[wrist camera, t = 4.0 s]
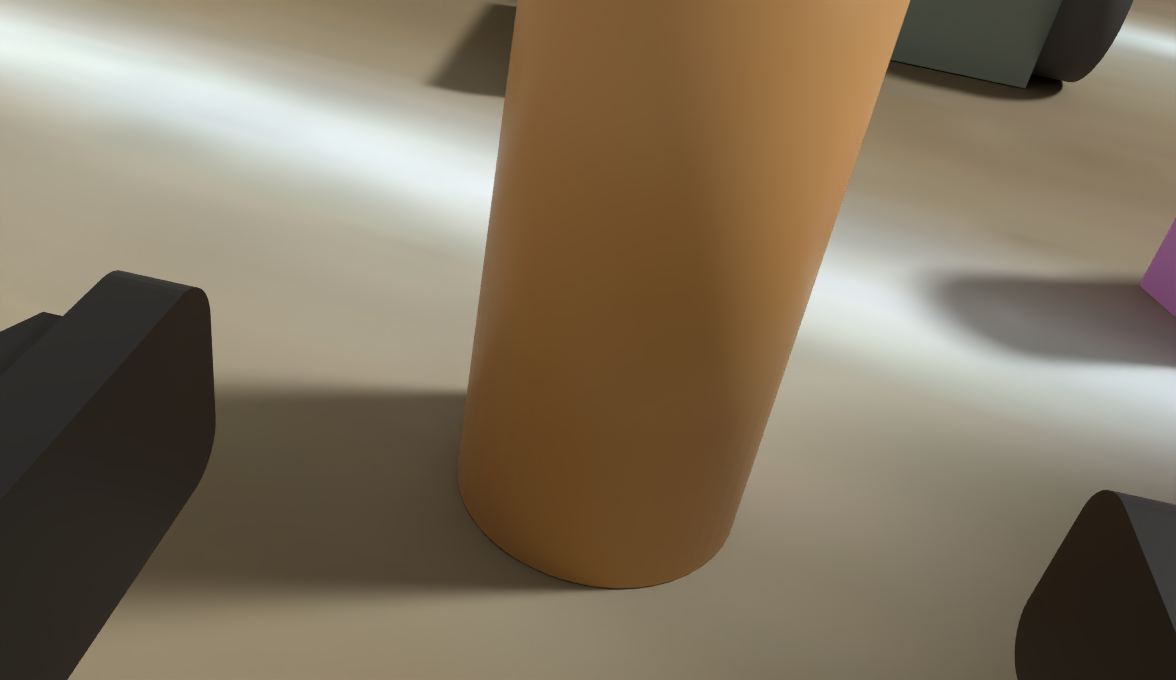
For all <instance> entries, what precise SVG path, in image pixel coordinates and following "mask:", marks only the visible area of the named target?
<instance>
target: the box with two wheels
mask: <svg viewBox="0 0 1176 680" xmlns="http://www.w3.org/2000/svg"><path fill="white" fill-rule="evenodd" d="M1132 2H1133V0H910V3H909V6H908V9H907V12H906V15H905V17H904V20H903V23H902V26H901V29H900V32H899V35H898V38H897V41H896V44H895V47H894V50H893V53H892V56H891V59H890V60H894V61H899V62H903V63H908V64H913V65H917V66H922V67H927V68H932V69H936V70H941V71H946V72H950V73H955V74H960V75H965V76H969V77H974V78H979V79H983V80H988V81H993V82H998V83H1002V84H1007V85H1012V86H1016V87H1021V88H1026V85H1027V83H1028V81H1029V78H1030V76H1031V74H1033V75H1038V76H1043V77H1048V78H1052V79H1057V80H1062V81H1066V82H1075V81H1078V80H1080V79H1082V78H1084V77H1085V76H1086V75H1087V74H1089V73H1090V72H1091V71H1092V70H1093V69H1094V68H1095V66H1096V65H1097V64H1098V63H1099V62H1100V60H1101V59H1102V58H1103V56H1104V55H1105V54H1106V52H1107V51H1108V49H1109V47H1110V46H1111V44H1112V43H1113V41H1114V39H1115V38H1116V36H1117V34H1118V32H1119V30H1120V28H1121V26H1122V24H1123V22H1124V20H1125V18H1126V16H1127V14H1128V11H1129V9H1130V7H1131V4H1132Z"/></svg>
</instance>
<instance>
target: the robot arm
mask: <svg viewBox="0 0 1176 680" xmlns="http://www.w3.org/2000/svg"><path fill="white" fill-rule="evenodd" d="M214 435H215V397H214V377H213V357H212V336H211V316H210V306H209V301H208V298H207V296H206V294H205V292H204V291H203V290H202V289H200V288H197V287H193V286H188V285H183V284H179V283H174V282H170V281H165V280H161V279H156V278H152V277H147V276H142V275H138V274H133V273H129V272H124V271H119V270H117V271H113V272H111V273H109V274H107V275H106V276H104V277H103V278H102V279H101V280H100V281H99V282H98V283H97V284H96V285H95V286H94V287H93V288H92V289H91V290H90V291H89V292H88V293H86V294H85V295H84V296H83V297H82V298H81V299H80V300H79V301H78V302H77V303H76V304H75V305H74V306H73V307H72V308H71V309H70V310H69V311H68V312H67V313H66V314H65V315H64V316H60V315H55V314H50V313H46V312H42V313H40V314H37V315H35V316H33V317H31V318H29V319H27V320H25V321H22V322H20V323H18V324H16V325H14V326H12V327H10V328H7V329H5V330H3V331H1V332H0V680H67V679H68V678H69V676H70V675H71V673H72V672H73V670H74V669H75V667H76V666H77V664H78V663H79V661H80V660H81V658H82V657H83V656H84V654H85V653H86V651H87V650H88V648H89V647H90V645H91V644H92V642H93V641H94V639H95V638H96V636H97V635H98V633H99V632H100V630H101V629H102V627H103V626H104V624H105V623H106V621H107V620H108V618H109V617H110V615H111V614H112V612H113V611H114V609H115V608H116V606H117V605H118V603H119V602H120V600H121V599H122V597H123V596H124V594H125V593H126V591H127V590H128V588H129V587H130V586H131V584H132V583H133V581H134V580H135V578H136V577H137V575H138V574H139V572H140V571H141V569H142V568H143V566H144V565H145V563H146V562H147V560H148V559H149V557H150V556H151V554H152V553H153V551H154V550H155V548H156V547H157V545H158V544H159V542H160V541H161V539H162V538H163V536H164V535H165V533H166V532H167V530H168V529H169V527H170V526H171V524H172V523H173V521H174V520H175V518H176V517H177V515H178V514H179V513H180V511H181V510H182V508H183V507H184V505H185V504H186V502H187V501H188V499H189V498H190V496H191V495H192V493H193V492H194V490H195V489H196V487H197V485H198V484H199V482H200V480H201V478H202V476H203V473H204V471H205V469H206V466H207V463H208V460H209V457H210V454H211V450H212V446H213V441H214ZM1015 668H1016V674H1017V679H1018V680H1176V505H1174V504H1169V503H1165V502H1160V501H1156V500H1151V499H1146V498H1142V497H1137V496H1133V495H1128V494H1124V493H1119V492H1115V491H1110V490H1102V491H1100V492H1098V493H1096V494H1095V495H1093V496H1092V497H1091V498H1090V499H1089V500H1088V502H1087V503H1086V504H1085V506H1084V507H1083V509H1082V511H1081V512H1080V514H1079V516H1078V517H1077V519H1076V521H1075V522H1074V524H1073V526H1072V527H1071V529H1070V531H1069V532H1068V534H1067V536H1066V537H1065V539H1064V541H1063V542H1062V544H1061V546H1060V547H1059V549H1058V551H1057V552H1056V554H1055V556H1054V558H1053V559H1052V561H1051V563H1050V564H1049V566H1048V568H1047V569H1046V571H1045V573H1044V574H1043V576H1042V578H1041V579H1040V581H1039V583H1038V584H1037V586H1036V588H1035V589H1034V591H1033V593H1032V594H1031V596H1030V598H1029V599H1028V601H1027V603H1026V605H1025V607H1024V609H1023V612H1022V615H1021V618H1020V621H1019V625H1018V629H1017V635H1016V642H1015Z"/></svg>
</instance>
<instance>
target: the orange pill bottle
mask: <svg viewBox="0 0 1176 680" xmlns="http://www.w3.org/2000/svg"><path fill="white" fill-rule="evenodd" d="M909 3H910V0H517V8H516V15H515V23H514V31H513V39H512V46H511V54H510V62H509V70H508V78H507V85H506V93H505V101H504V109H503V117H502V124H501V132H500V140H499V148H498V156H497V163H496V171H495V179H494V187H493V195H492V202H491V210H490V218H489V226H488V234H487V241H486V249H485V257H484V265H483V272H482V280H481V288H480V296H479V304H478V311H477V319H476V327H475V335H474V343H473V350H472V358H471V366H470V374H469V382H468V389H467V397H466V405H465V413H464V421H463V428H462V436H461V444H460V452H459V459H458V472H457V476H458V484H459V490H460V493H461V496H462V499H463V502H464V504H465V506H466V508H467V510H468V512H469V514H470V515H471V517H472V518H473V520H474V521H475V522H476V524H477V525H478V527H479V528H480V529H481V530H482V531H483V532H484V533H485V534H486V535H487V536H488V537H489V538H490V539H491V540H492V541H493V542H494V543H495V544H497V545H498V546H499V547H500V548H501V549H503V550H504V551H505V552H507V553H508V554H510V555H511V556H513V557H514V558H516V559H517V560H519V561H520V562H522V563H524V564H526V565H528V566H530V567H532V568H534V569H536V570H538V571H541V572H543V573H546V574H548V575H551V576H554V577H556V578H559V579H563V580H567V581H570V582H574V583H578V584H583V585H589V586H595V587H606V588H639V587H646V586H653V585H658V584H662V583H665V582H669V581H673V580H675V579H678V578H680V577H683V576H685V575H688V574H690V573H691V572H693V571H695V570H696V569H698V568H700V567H702V566H703V565H704V564H705V563H707V562H708V561H709V560H710V559H711V558H713V557H714V556H715V554H716V553H717V552H718V551H719V550H720V549H721V548H722V546H723V545H724V543H725V541H726V539H727V538H728V536H729V533H730V530H731V528H732V525H733V522H734V519H735V516H736V513H737V510H738V507H739V504H740V501H741V498H742V495H743V492H744V489H745V486H746V483H747V480H748V477H749V474H750V472H751V469H752V466H753V463H754V460H755V457H756V454H757V451H758V448H759V445H760V442H761V439H762V436H763V433H764V430H765V427H766V424H767V421H768V418H769V416H770V413H771V410H772V407H773V404H774V401H775V398H776V395H777V392H778V389H779V386H780V383H781V380H782V377H783V374H784V371H785V368H786V365H787V362H788V360H789V357H790V354H791V351H792V348H793V345H794V342H795V339H796V336H797V333H798V330H799V327H800V324H801V321H802V318H803V315H804V312H805V309H806V306H807V303H808V301H809V298H810V295H811V292H812V289H813V286H814V283H815V280H816V277H817V274H818V271H819V268H820V265H821V262H822V259H823V256H824V253H825V250H826V247H827V245H828V242H829V239H830V236H831V233H832V230H833V227H834V224H835V221H836V218H837V215H838V212H839V209H840V206H841V203H842V200H843V197H844V194H845V191H846V188H847V186H848V183H849V180H850V177H851V174H852V171H853V168H854V165H855V162H856V159H857V156H858V153H859V150H860V147H861V144H862V141H863V138H864V135H865V132H866V130H867V127H868V124H869V121H870V118H871V115H872V112H873V109H874V106H875V103H876V100H877V97H878V94H879V91H880V88H881V85H882V82H883V79H884V76H885V74H886V71H887V68H888V65H889V62H890V59H891V56H892V53H893V50H894V47H895V44H896V41H897V38H898V35H899V32H900V29H901V26H902V23H903V20H904V17H905V15H906V12H907V9H908V6H909Z"/></svg>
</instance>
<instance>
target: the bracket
mask: <svg viewBox="0 0 1176 680" xmlns="http://www.w3.org/2000/svg"><path fill="white" fill-rule="evenodd" d="M1139 286H1140V287H1142V288H1143V289H1144V290H1145V291H1146V292H1147V293H1148V294H1150V295H1151V296H1152V297H1153V298H1154V299H1155V300H1156V301H1158V302H1159V303H1160V304H1161V305H1162V306H1163V307H1164V308H1165V309H1167V310H1168V311H1169V312H1170V313H1171V314H1172V315H1173V316H1175V317H1176V218H1175V220H1174V222H1173V224H1172V226H1171V228H1170V229H1169V231H1168V233H1167V235H1166V237H1165V239H1164V240H1163V242H1162V244H1161V246H1160V248H1159V250H1158V251H1157V253H1156V255H1155V257H1154V259H1153V261H1152V262H1151V264H1150V266H1149V268H1148V270H1147V272H1146V273H1145V275H1144V277H1143V279H1142V281H1141V283H1140V284H1139Z"/></svg>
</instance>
